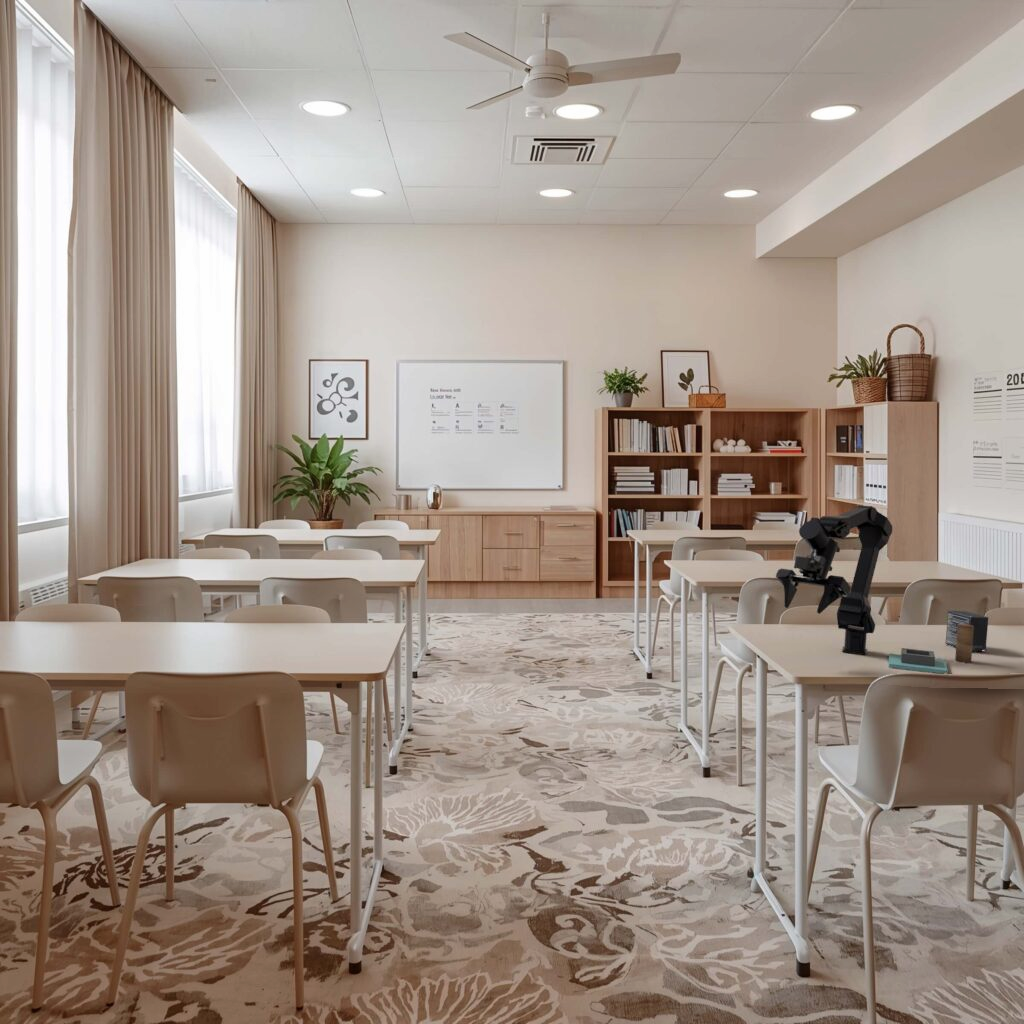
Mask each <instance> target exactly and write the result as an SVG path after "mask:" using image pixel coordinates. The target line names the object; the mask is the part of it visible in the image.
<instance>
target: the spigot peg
mask: <svg viewBox="0 0 1024 1024" xmlns="http://www.w3.org/2000/svg"><path fill="white" fill-rule="evenodd" d="M973 631H974V626H972V625H967V624H958V627H957V641H956V648H955V658H954V660H956V661H955V662H958V661H959V662H958V663H963V662H971V663H972V658H973V657H972V656H973V655H972V654H973V652H972V645H973Z"/></svg>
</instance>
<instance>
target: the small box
mask: <svg viewBox="0 0 1024 1024" xmlns="http://www.w3.org/2000/svg"><path fill="white" fill-rule="evenodd" d="M958 624H967V625H972V626H974V631H973V645H972V651H982V650H986V651H987V639H988V627H989V617H988V616H986V615H981V614H977V613H974V612H970V611H967V610H965V611H964V610H963V611H962V610H947V621H946V633H945V642H944V644H945V643H946V644H948V645H951V646H953V647H952V648H954V647H956V641H957V627H958ZM948 645H947V646H948ZM951 646H950V647H951Z"/></svg>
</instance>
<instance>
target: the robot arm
mask: <svg viewBox="0 0 1024 1024" xmlns="http://www.w3.org/2000/svg"><path fill="white" fill-rule="evenodd" d="M890 521H891V520H889V518H888V517H887V516H885V515H884V514H882V513H880V512H879V511H878V510H877V508H876V507H873V506H872V505H857V506H855V507H854V508H852V509H850V510H847V511H845V512H843V513H841V514H838V515H823V516H821V517H820V518H819V517H813V516H812V517H811V518H810V520H808V521H806V522H805V523H803V524H802V525H801V526H800V528H799V529H798V534H799V536H800V537H801V538H802V540H803V541H804V543H806V545H807V546H808V547H809V548H810V549H811V553H810V555H806V556H799V555H798V556H797V555H795V559H794V565H793V568H794V569H799V570H798V572H799V573H800V574H802V575H798V574H797V573H796V572H795V571H794V570H793V569H790V568H789V569H787V568H782V567H781V568H779V569H778V570H777V571H776V574H775V578H776V579H777V580H778V582H780V584H781V585H783V589H784V590H783V591H784V607H785V609H788V608H789V606H790V605H791V603H792V601H793V600H794V597H795V595H796V593H797V592H798V588H797V587H798V586H799V584H805V585H811V586H818V587H823V594H822V596H821V599H820V600H819V603H818V606H817V609H816V610H817V611H816V613H817V614H821V613H822V612H824V611H825V609H827V608H828V607H829V606H831V604H833V603H834V602H835V601H837V600H838V599H840V601H839V605H838V608H837V612H836V619H837V627H838V629H840V630H842V629H843V630H845V632H844V644H843V645H844V646H842V650H841V651H842V653H849V654H857V655H865V654H866V655H867V654H868V649H867V635H868V634H874V632H875V629H876V623H875V621H874V618H873V617H872V615H871V612H872V607H871V605H870V602H869V599H868V598H869V594H870V590H871V585H872V582H873V577H874V575H875V570H876V565H877V562H878V557H879V554H880V551H881V550H882V549H883V548H884V547H885V546H886V545H887V544H888V543H889V539H890V537H891V536H892V533H893V525H892V523H891V522H890ZM854 528H857V529H856V530H858V538H859V542H860V543H861V548H860V552H859V555H858V556H859V557H858V560H857V564H856V568H855V572H854V576H853V579H852V583H851V586H850V584H849V582H847V580H846V578H844V576H841V575H840V576H839V575H838V576H837V575H831V574H830V575H828V574H829V572H832V571H833V566H832V562H833V560H834V558H835V555H836V553H840V552H841V549H840V547H839V545H838V542H837V541H835V540H834V539H837V540H838V539H839V540H844V539H845V538H846V537H847V536H849V535H850V533H851V530H852V529H854Z"/></svg>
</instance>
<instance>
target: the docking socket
mask: <svg viewBox="0 0 1024 1024" xmlns="http://www.w3.org/2000/svg"><path fill="white" fill-rule="evenodd" d="M900 650H901V652H900V654H897V653H889V654H888V668H889V667H894V668H893V669H897V668H901V669H900V670H906V669H909V670H908V671H916V672H924V673H931V672H935V673H934V674H940V673H949V671H948V667H947V663H946V660H945V659H943V658H936V656H935V652H934V651H931V650H923V649H916V648H915V649H914V648H907V647H906V648H905V647H901V649H900Z"/></svg>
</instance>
